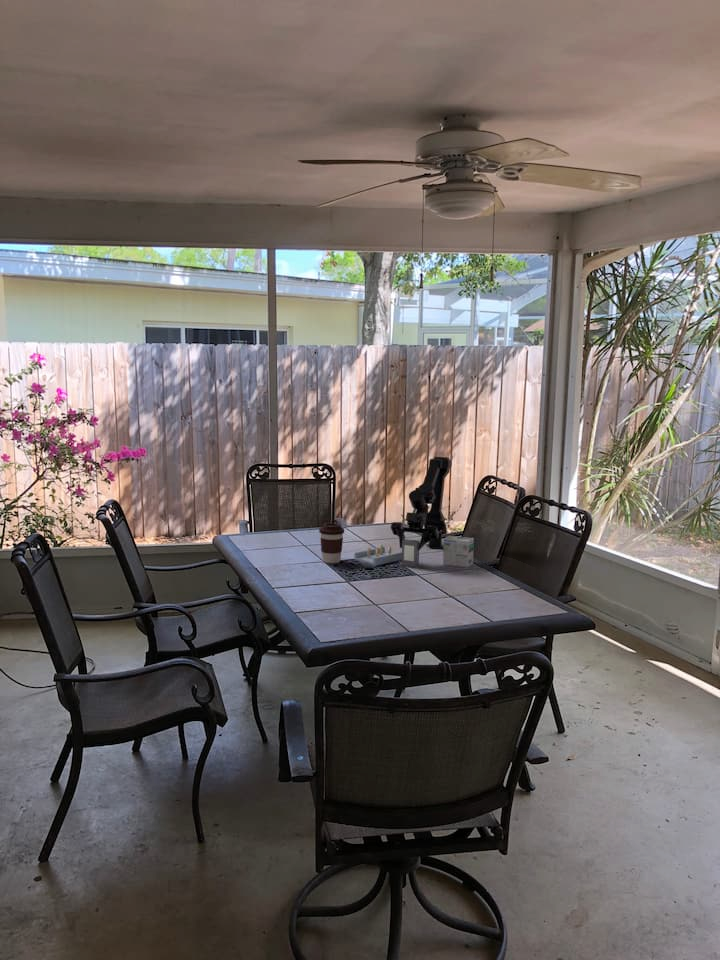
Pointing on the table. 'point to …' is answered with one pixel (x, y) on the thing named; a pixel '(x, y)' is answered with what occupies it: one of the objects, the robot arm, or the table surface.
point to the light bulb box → (458, 551)
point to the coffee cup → (331, 542)
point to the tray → (377, 556)
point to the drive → (410, 553)
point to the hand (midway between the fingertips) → (409, 548)
